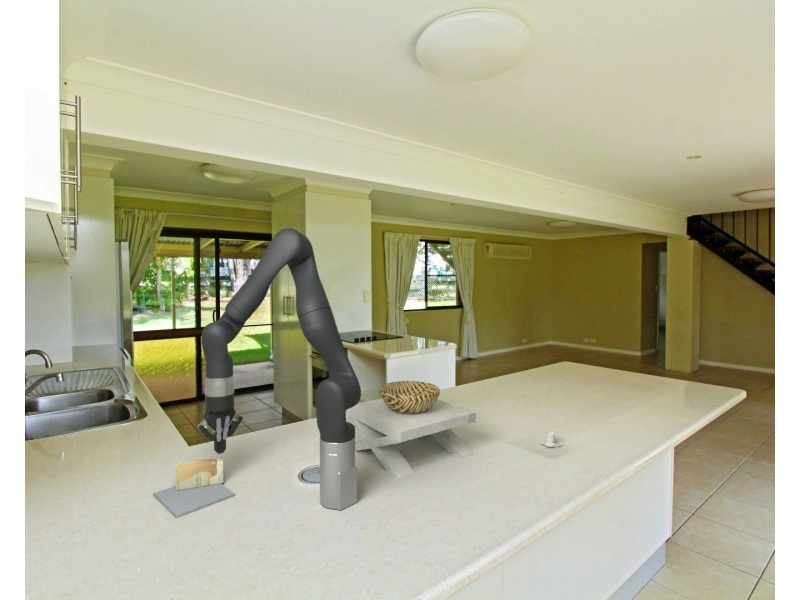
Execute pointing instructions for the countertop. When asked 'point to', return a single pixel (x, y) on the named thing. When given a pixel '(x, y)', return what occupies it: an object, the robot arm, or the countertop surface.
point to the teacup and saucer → (550, 439)
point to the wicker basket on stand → (407, 422)
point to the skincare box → (199, 473)
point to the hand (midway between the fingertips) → (220, 452)
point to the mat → (191, 498)
